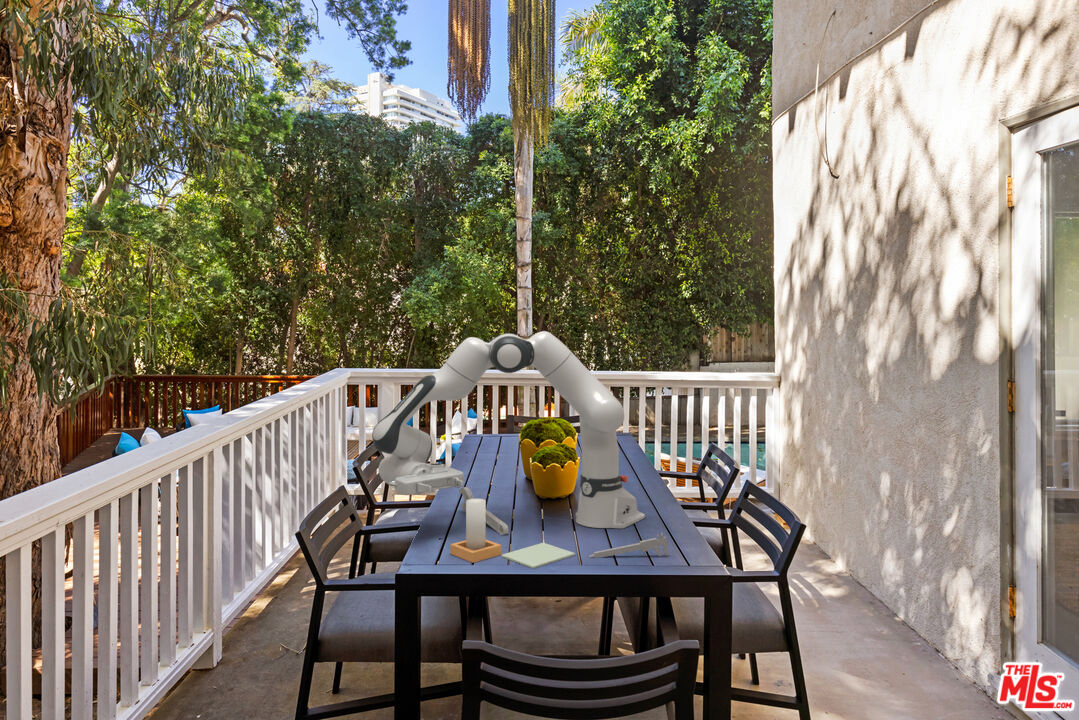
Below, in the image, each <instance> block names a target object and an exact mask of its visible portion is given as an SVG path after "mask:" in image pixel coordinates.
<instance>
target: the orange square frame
mask: <svg viewBox="0 0 1079 720" xmlns="http://www.w3.org/2000/svg"><path fill="white" fill-rule="evenodd" d="M449 546H450V547H449V548H450V549H449V555H453V556H455V557H458V558H459V559H463V560H464V561H468V562H470V563H473V564H474V563H478V562H480V561H484V560H487V559H488V560H489V559H491V558H495V557H498V556H501V555H502V544H499V543H497V542H494V541H491V540H488V539H486V544H485V548H482V549H479V550H475V551H473V550H470V549H467V548H466V539H465V540H462V541H457V542H454V543H451V544H449Z"/></svg>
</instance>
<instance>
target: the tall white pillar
mask: <svg viewBox="0 0 1079 720" xmlns="http://www.w3.org/2000/svg"><path fill="white" fill-rule="evenodd" d="M486 504H487V502H486V500H485V499H483V498H475V499H469V500H467V501H466V512H465V516H466V517H465V525H466V526H465V530H466V531H465V540H466V548H467V549H470V550H473V551H475V550H479V549H482V548H485V544H486V540H487V539H486V537H487V536H486V534H487V533H486V529H487V528H486V526H487V525H486V524H487V523H486V510H487V509H486V508H487V507H486Z"/></svg>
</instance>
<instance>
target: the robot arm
mask: <svg viewBox="0 0 1079 720" xmlns="http://www.w3.org/2000/svg"><path fill="white" fill-rule="evenodd" d="M529 366H532V367H533V368H535V370H536V371H538V372H539V373H540V375H541V376H542V377H543V378H544V379H545V380H546V381H547V382H548V383H549V384H550V385H551V386H552V387H553V389H554V390H555V391H556V392H557V393H558V394H559V395H560V396H561V397H562V398H563V399H564V400H565V401H566V402H567V404H569V405H570V406H571V408H573V410H574V411H575V412H576V413H577V414H578V415H579V430H580V440H581V441H580V442H581V474H580V476H579V477H580V478H579V486H580V490H579V496H578V505H577V511H576V512H575V522H576V523H577V524H578V525H581V526H584V527H588V528H594V529H595V528H596V529H624V528H627V527H629V526H632V525H633V524H635V523H637V522H640V521H641V520H644V519H645V518H646V515H645V513H643V512H641V511H639V510H638V502H637V499H636V497H635V496H634V495H632V494H631V493H630V492H629V491H628V490H627V489H625V488H624V487H623V483H628V481H629V477H628V475H623V474H621V475H620V474H619V471H620V470H619V469H620V467H619V466H620V465H619V464H620V463H619V462H620V461H619V460H620V459H619V457H620V449H619V443H618V437H617V431H618V430H619V429H620V428H621V426H622V425H623V423H624V420H625V410H624V406H623V405H622V404H621V402H620V401H619V400H618V399H617V397H616V396H615V395H614V394H613V393H612V392H611V391H610V390H609V389H608V388H607V387H606V386H605V385H604V384H603V383H602V382H601V381H600V380H598V378H597V377H596V376H595V375H594V374H592V372H590V370H589V369H588V368H587V367H586V366H585V365H584V364H583V363H582V361H580V359H578V357H577V356H576V355H575V354H574V353H573V352H572V351H571V350H570V349H569V348H568V347H567V345H565V344H564V343H563V342H562V341H561V340H560V339H559V338H557V337H556V336H555V335H554V334H552V333H551V332H549V331H546V330H542V331H539V332H536V333H535V334H533V335H532V336H531V337H530V338H527V339H525V338H522V337H520V336H518V335H517V334H515V333H510V332H509V333H508V332H505V333H503V334H499V335H497V336H495V337H493V338H492V339H489V340H487V341H484V340H482V339H481V338H479V337H474V336H470V337H466V338H465V339H464V340H463V341H462V342H461V343H460V344H459V345H458V346H457V347H456V348H455V350H454V351H453V352H452V353H451V354H450V356H449V357H448V358H447V360H446V361H445V363H444V364H443V366H441V367H440V368H439V369H437V371H435V372H434V373H431V374H430V375H426V376H424V377H422V378H421V379H420V380H419V381H417V383H415V385H414V386H413V387H412V388H411V389H410V390H409V391H408V392H407V394H406V395H405V396H404V397H402V399H401V400H400V401H399V402H398V403H397V404H396V406H395V407H394V408H393V409H392V410H390V412H389V413H388V414H387V415H385V416H384V417H382V419H381V420H379V422H377V423H376V425H375V427H374V428H373V430H372V434H371V437H372V442H373V445H374V447H375V449H376V450H377V451H378V452H381V453H385V454H388V456H386V457H384V458H383V459H381V461H380V462H379V464H378V474H379V476H380V479H381V480H382V481H383V482H384V483H386V484H387V485H388V486H390V487H393V488H394V490H395V492H396V493H399V494H401V495H404V496H409V495H424V494H425V493H427V494H428V493H429V494H430V493H431V494H432V493H434V492H435V491H438V490H443V489H448V488H459V489H460V488H463V486H464V482H465V474H464V472H463V471H461V470H459V469H456V468H452V467H447V466H446V464H444V463H428V462H429V460H430V459H431V455H432V453H433V441H432V438H431V435H430V434H429V433H427V432H425V431H423V430H421V429H418V428H416V427H414V426H411V425H408V422H409V421H410V420H411V419H412V417H413V416H414V415H415V414H416V413H417V412H418V411H419V410H420V408H422V407H423V406H424V405H425V404H427V403H429V402H434V401H449V402H453V401H460V400H462V399H465V398H466V397H467V396H469V395H470V394H471V392H472V391H473V390H474V388H475V387H476V385H477V384H478V382H479V381H480V379H481V378H482V376H483V375H484V374H485V373H486V371H488V370H489V369H492V368H496V370H498V371H499V372H501V373H505V374H513V373H516V372H517V373H518V372H519V371H521V370H524V369H525V368H528V367H529Z"/></svg>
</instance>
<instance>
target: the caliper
mask: <svg viewBox="0 0 1079 720" xmlns="http://www.w3.org/2000/svg"><path fill="white" fill-rule="evenodd" d="M656 535H657V538H656V537H652V538H648V539H645V540H640V541H639V542H638V543H637V542H636V543H632V544H627V545H624V546H623V545H622V546H618V547H614V548H613V547H612V548H608V549H603V550H598V551H593V554H590V555H589V556H588V558H590V559H591V558H595V559H599V558H600V559H601V558H607V557H609V556H616V555H620V554H626V553H630V552H636V551H639V550H640V551H641V553H644V552H649V551H651V550H652V549H653V550H654V551H655V552H656V554H657V556H658V557H659V556H661V557H662V555H661V554H662V553H661V550H660V547H659V546H662V548H663V552H664V556H665V557H668V554H669V545H668V540H667V537H666V536H664V534H663V532H661V534H660V535H659V534H658V533H657V534H656Z"/></svg>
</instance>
